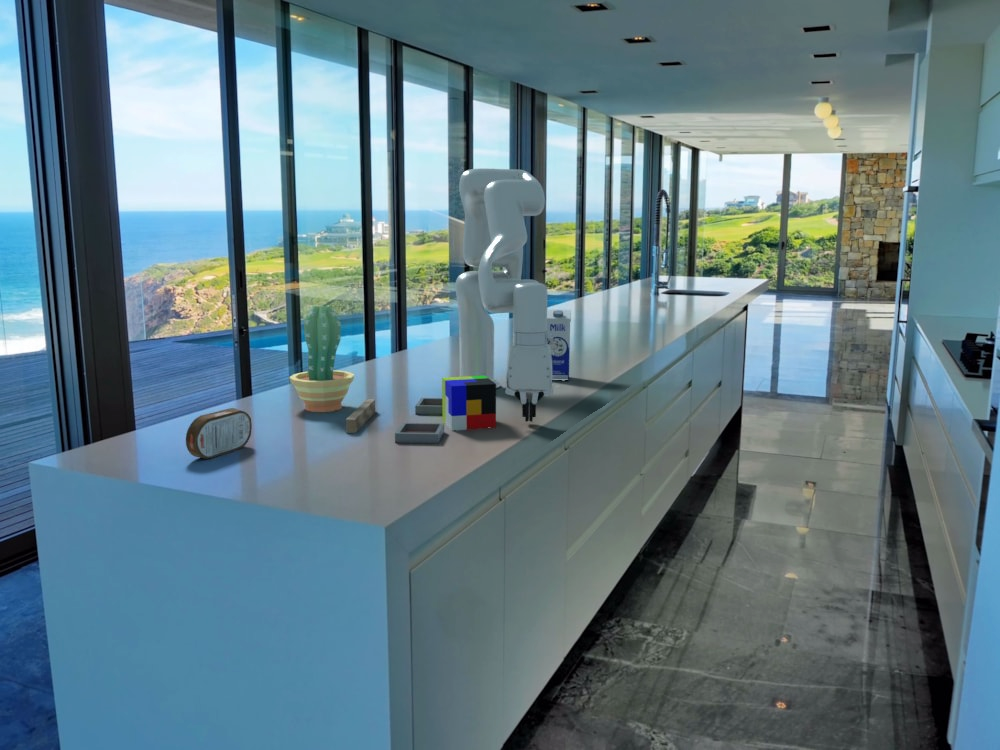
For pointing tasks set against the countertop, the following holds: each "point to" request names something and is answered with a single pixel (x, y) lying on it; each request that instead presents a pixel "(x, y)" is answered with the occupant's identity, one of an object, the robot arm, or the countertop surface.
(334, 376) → the potted cactus
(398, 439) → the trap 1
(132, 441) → the countertop surface
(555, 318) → the milk carton
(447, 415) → the puzzle toy
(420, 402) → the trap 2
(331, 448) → the countertop surface
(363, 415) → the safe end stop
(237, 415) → the tin
